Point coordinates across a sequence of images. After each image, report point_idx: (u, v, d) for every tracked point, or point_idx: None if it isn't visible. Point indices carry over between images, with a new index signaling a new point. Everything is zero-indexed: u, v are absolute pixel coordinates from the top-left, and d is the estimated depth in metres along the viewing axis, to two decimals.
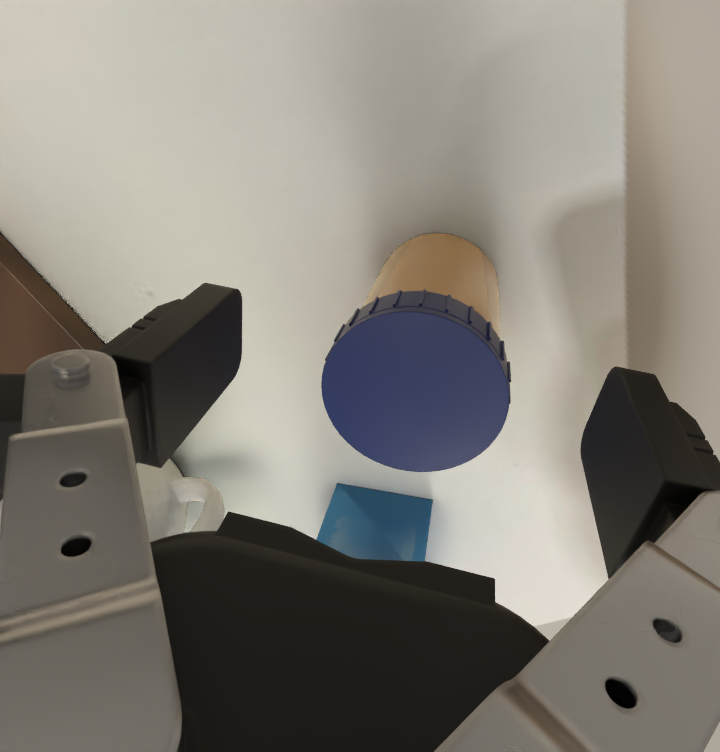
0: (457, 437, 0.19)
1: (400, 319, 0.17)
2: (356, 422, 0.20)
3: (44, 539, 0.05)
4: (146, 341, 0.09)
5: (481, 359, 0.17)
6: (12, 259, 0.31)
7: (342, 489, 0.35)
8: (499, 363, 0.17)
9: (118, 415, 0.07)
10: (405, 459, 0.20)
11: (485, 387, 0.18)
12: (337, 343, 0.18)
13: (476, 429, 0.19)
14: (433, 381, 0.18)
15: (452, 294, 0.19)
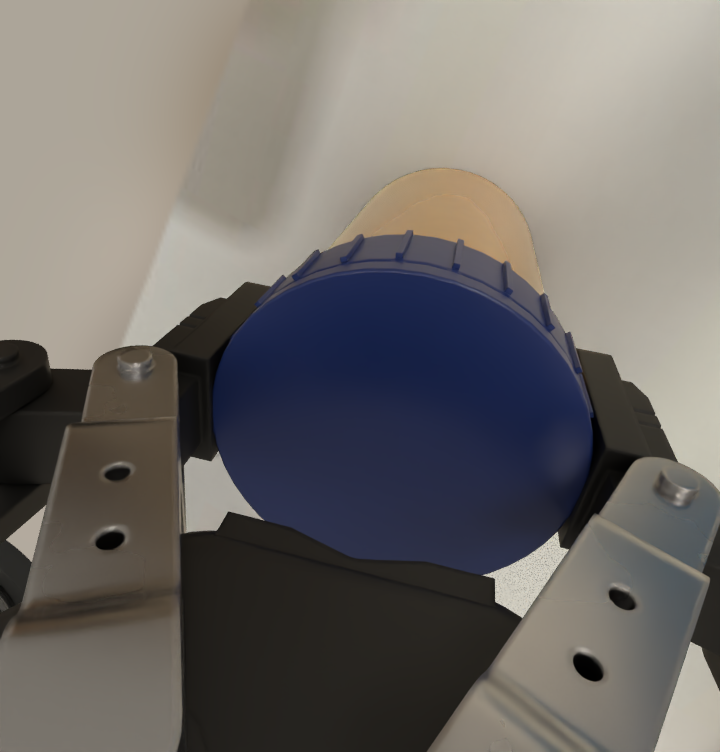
0: (376, 336, 0.08)
1: None
2: (524, 490, 0.09)
3: (82, 530, 0.05)
4: (200, 338, 0.09)
5: (234, 423, 0.10)
6: None
7: None
8: (213, 397, 0.09)
9: (171, 413, 0.07)
10: (522, 368, 0.08)
11: (257, 382, 0.09)
12: None
13: (328, 325, 0.08)
14: (330, 448, 0.09)
15: None
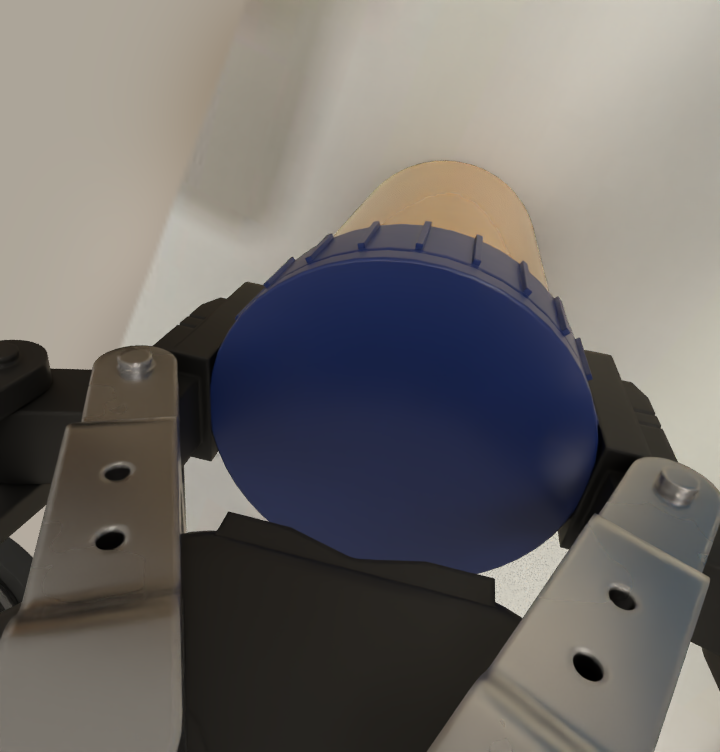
0: (265, 433, 0.09)
1: (515, 547, 0.10)
2: (436, 327, 0.08)
3: (82, 529, 0.05)
4: (200, 338, 0.09)
5: (363, 556, 0.10)
6: None
7: None
8: None
9: (172, 413, 0.07)
10: (284, 324, 0.08)
11: (319, 527, 0.10)
12: (594, 455, 0.08)
13: (260, 465, 0.10)
14: (387, 493, 0.10)
15: None
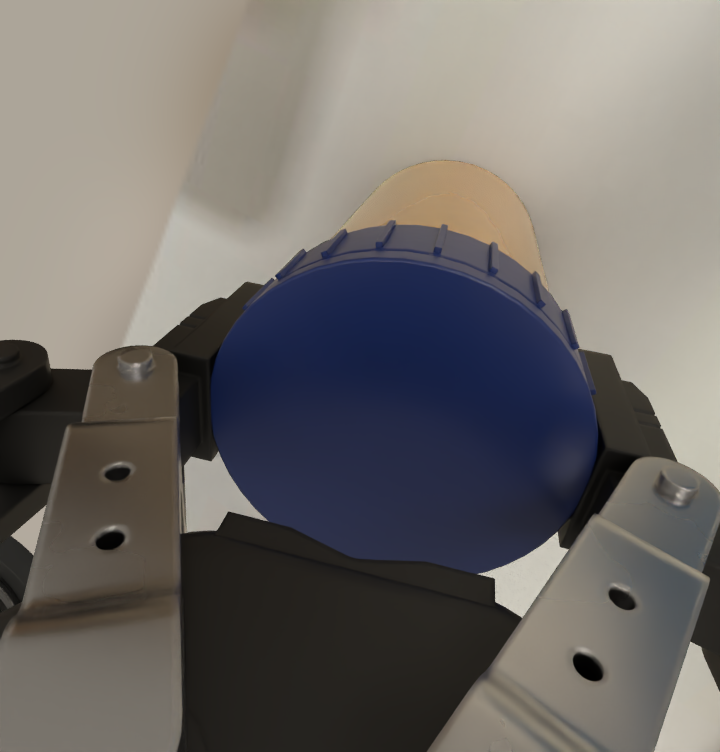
0: (380, 538, 0.10)
1: (538, 343, 0.08)
2: (260, 391, 0.09)
3: (82, 529, 0.05)
4: (200, 338, 0.09)
5: (551, 500, 0.09)
6: None
7: None
8: (561, 524, 0.09)
9: (172, 413, 0.07)
10: (271, 496, 0.10)
11: (502, 529, 0.09)
12: (390, 261, 0.07)
13: (417, 553, 0.10)
14: (451, 459, 0.09)
15: None
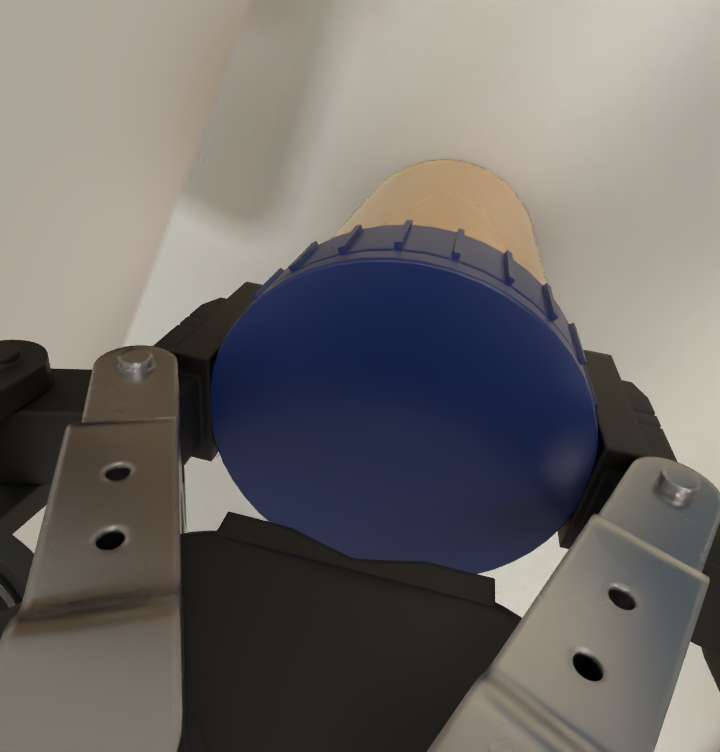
0: (520, 478, 0.09)
1: (266, 313, 0.08)
2: (335, 529, 0.10)
3: (82, 529, 0.05)
4: (200, 338, 0.09)
5: (457, 304, 0.08)
6: None
7: None
8: (499, 291, 0.07)
9: (172, 413, 0.07)
10: (456, 557, 0.10)
11: (505, 355, 0.08)
12: (211, 414, 0.10)
13: (545, 447, 0.08)
14: (402, 396, 0.08)
15: None
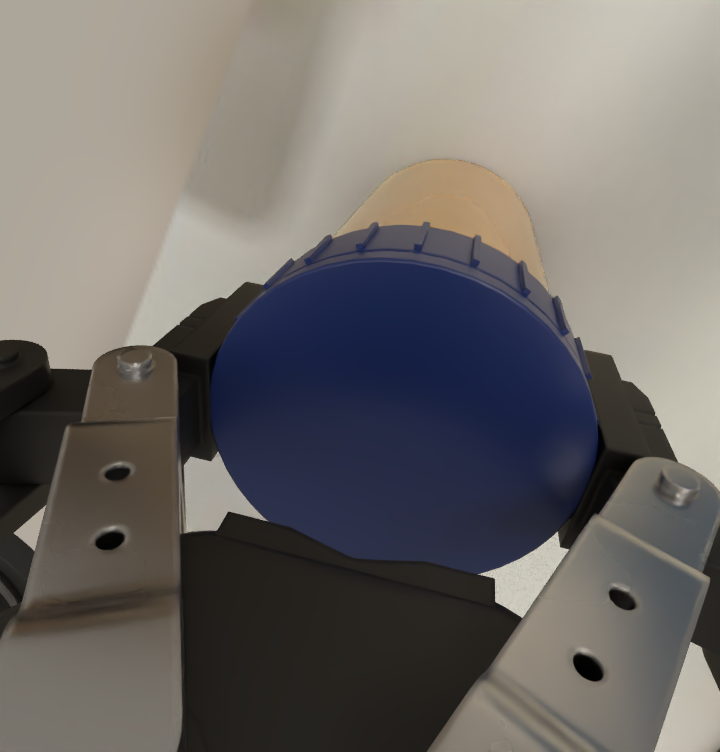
0: (426, 335, 0.08)
1: (263, 504, 0.10)
2: (504, 516, 0.09)
3: (82, 529, 0.05)
4: (200, 338, 0.09)
5: (238, 373, 0.09)
6: None
7: None
8: (225, 341, 0.09)
9: (172, 412, 0.07)
10: (553, 408, 0.08)
11: (281, 341, 0.08)
12: None
13: (382, 309, 0.08)
14: (331, 427, 0.09)
15: None
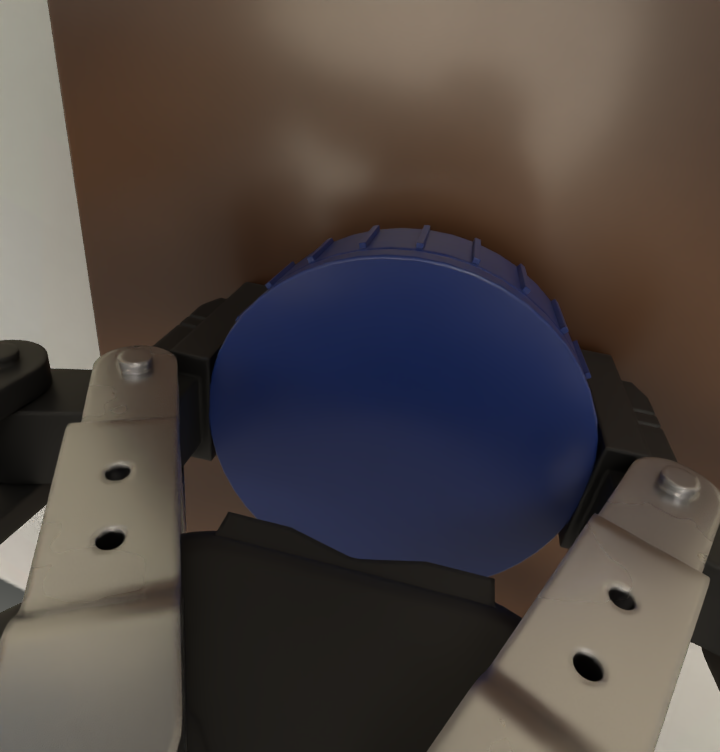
0: (428, 332, 0.08)
1: (260, 509, 0.10)
2: (504, 519, 0.09)
3: (81, 529, 0.05)
4: (200, 338, 0.09)
5: (238, 372, 0.09)
6: None
7: None
8: (226, 339, 0.09)
9: (172, 413, 0.07)
10: (553, 406, 0.08)
11: (283, 338, 0.08)
12: None
13: (384, 306, 0.08)
14: (331, 427, 0.09)
15: None
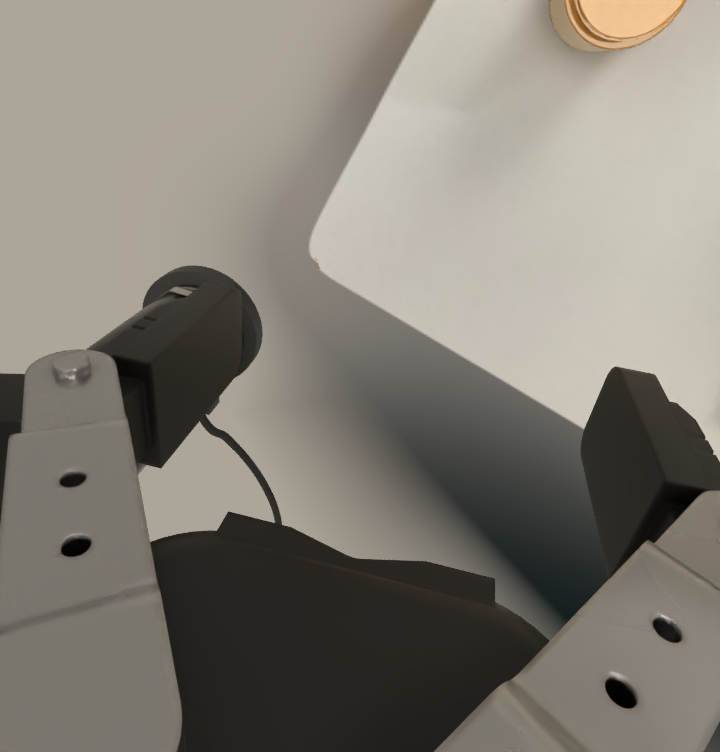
0: None
1: None
2: None
3: (44, 539, 0.05)
4: (146, 341, 0.09)
5: None
6: None
7: None
8: None
9: (118, 415, 0.07)
10: None
11: None
12: None
13: None
14: None
15: (565, 13, 0.28)
